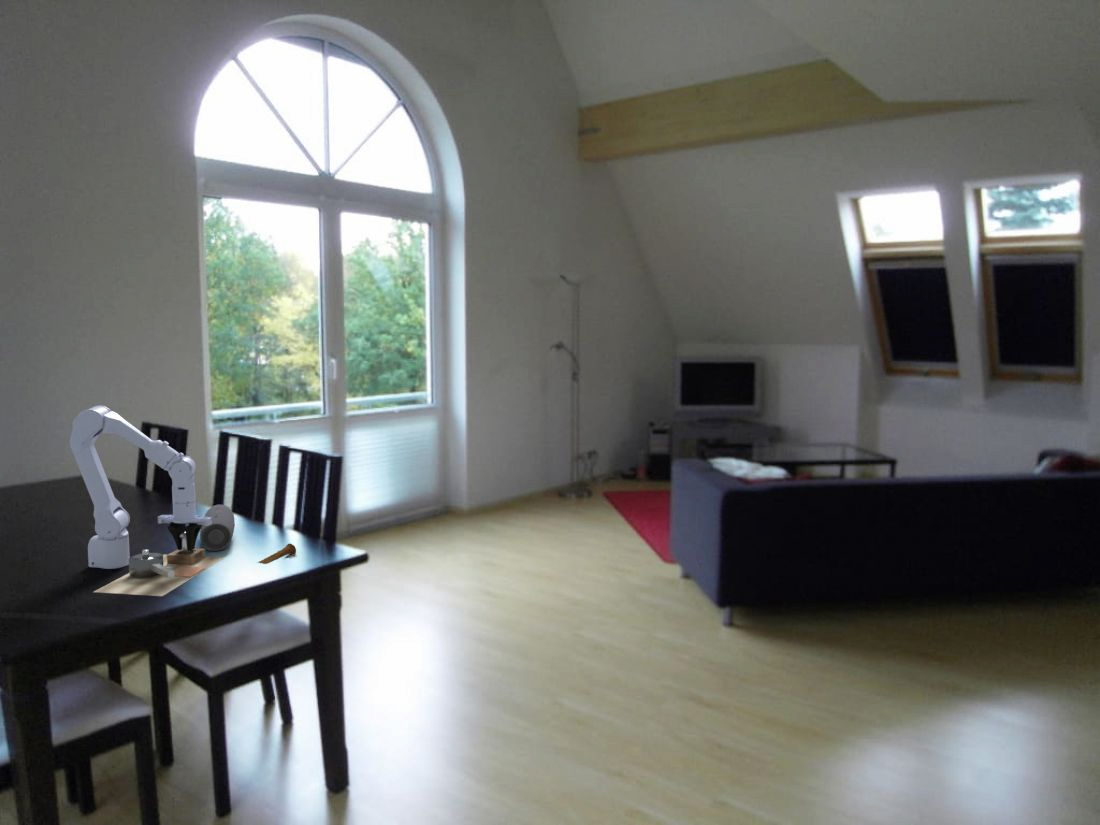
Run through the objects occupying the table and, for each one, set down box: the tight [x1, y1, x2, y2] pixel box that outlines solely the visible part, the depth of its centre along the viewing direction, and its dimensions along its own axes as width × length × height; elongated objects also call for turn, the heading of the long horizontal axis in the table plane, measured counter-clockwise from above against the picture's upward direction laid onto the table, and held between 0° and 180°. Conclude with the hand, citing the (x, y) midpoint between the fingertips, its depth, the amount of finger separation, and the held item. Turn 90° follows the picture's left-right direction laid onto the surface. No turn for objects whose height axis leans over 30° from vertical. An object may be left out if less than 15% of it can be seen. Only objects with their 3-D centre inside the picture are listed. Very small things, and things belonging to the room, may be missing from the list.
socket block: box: [166, 547, 206, 565], centre depth 219 cm, size 7×7×2 cm
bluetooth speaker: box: [199, 504, 236, 552], centre depth 237 cm, size 23×9×10 cm, turn 20°
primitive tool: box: [257, 543, 297, 565], centre depth 222 cm, size 19×6×4 cm, turn 163°
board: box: [93, 553, 225, 597], centre depth 208 cm, size 18×30×1 cm, turn 174°
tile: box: [174, 566, 205, 577], centre depth 209 cm, size 7×7×1 cm
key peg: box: [180, 532, 191, 554], centre depth 218 cm, size 2×4×8 cm, turn 174°
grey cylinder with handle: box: [128, 548, 174, 578], centre depth 204 cm, size 17×8×6 cm, turn 52°
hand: (186, 549), depth 218 cm, fingers closed on key peg, 2 cm apart
